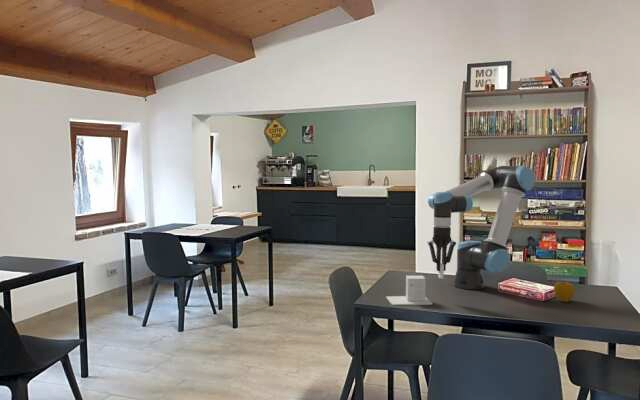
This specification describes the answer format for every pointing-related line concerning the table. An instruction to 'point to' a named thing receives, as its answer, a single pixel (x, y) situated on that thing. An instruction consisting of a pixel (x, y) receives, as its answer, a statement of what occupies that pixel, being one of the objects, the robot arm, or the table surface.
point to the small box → (415, 288)
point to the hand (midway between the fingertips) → (440, 277)
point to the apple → (564, 291)
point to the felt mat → (406, 301)
